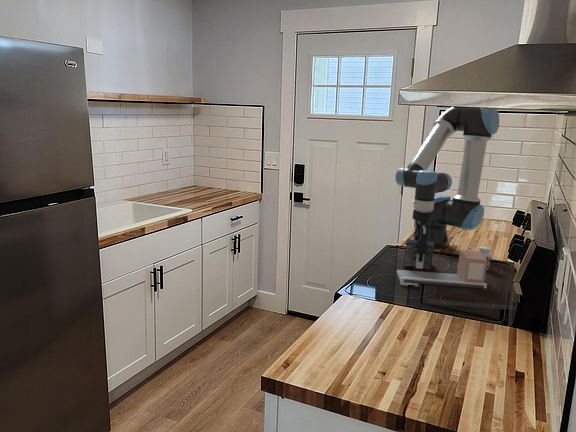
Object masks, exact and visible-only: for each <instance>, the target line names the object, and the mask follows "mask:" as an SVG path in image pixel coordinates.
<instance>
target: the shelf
mask: <svg viewBox="0 0 576 432" xmlns="http://www.w3.org/2000/svg"><path fill="white" fill-rule="evenodd" d="M395 273H396V276H397V278H398V281H399V284H400V285H401V286H408V285H414V286H413V287H420V284H422V285H434V286H436V285H437V286H447V287H448V286H449V287H450V286H451V287H461V288H462V287H463V288H475V289H487V287H488V283H486V282H484V283H476V282H462V281H461V280H460V279H459V278H458V276H457V273H446V272H445V273H444V272H443V273H442V272H430V271H417V270H405V269H396V272H395Z"/></svg>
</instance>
